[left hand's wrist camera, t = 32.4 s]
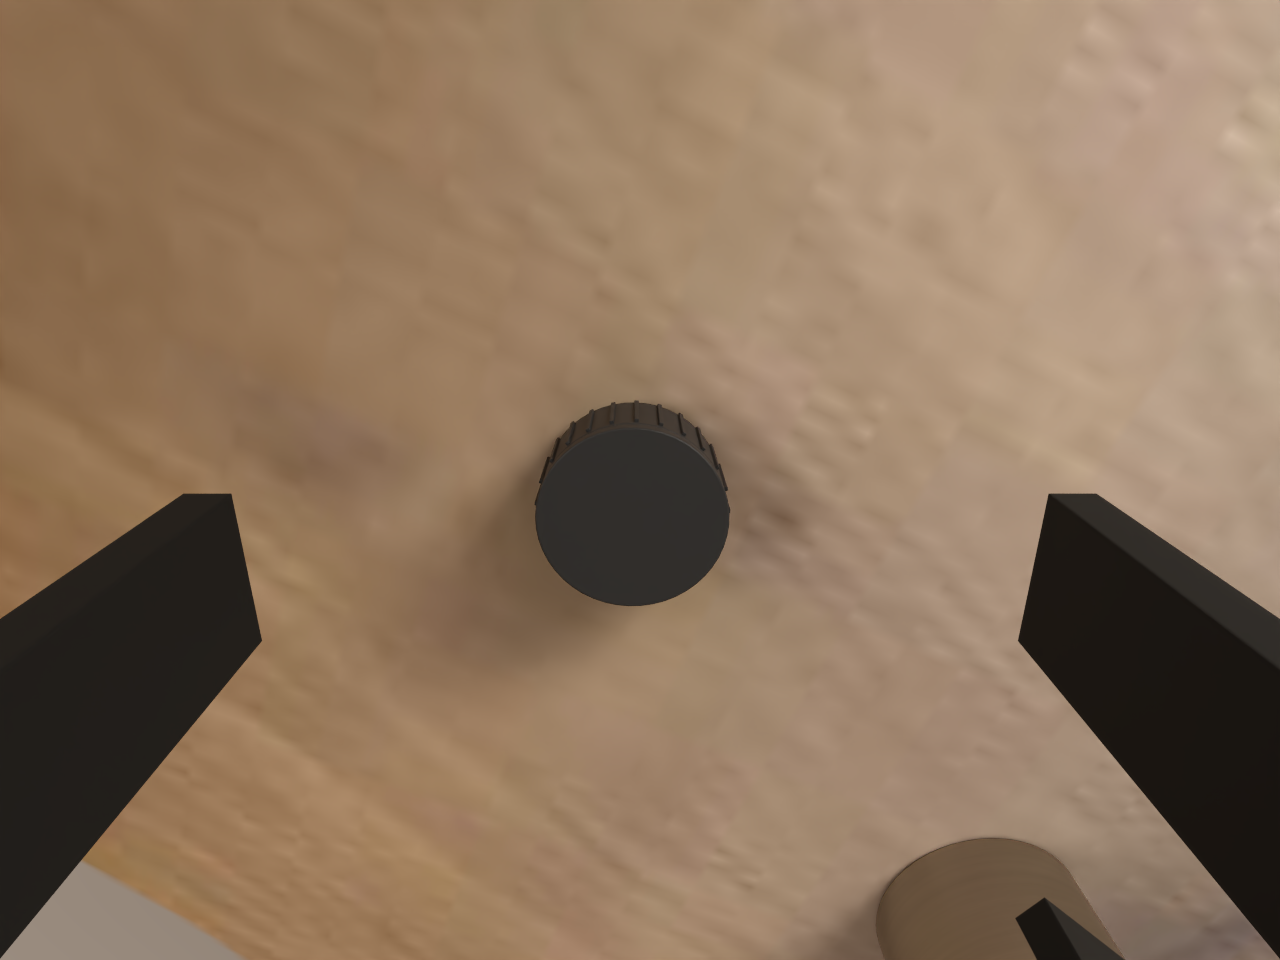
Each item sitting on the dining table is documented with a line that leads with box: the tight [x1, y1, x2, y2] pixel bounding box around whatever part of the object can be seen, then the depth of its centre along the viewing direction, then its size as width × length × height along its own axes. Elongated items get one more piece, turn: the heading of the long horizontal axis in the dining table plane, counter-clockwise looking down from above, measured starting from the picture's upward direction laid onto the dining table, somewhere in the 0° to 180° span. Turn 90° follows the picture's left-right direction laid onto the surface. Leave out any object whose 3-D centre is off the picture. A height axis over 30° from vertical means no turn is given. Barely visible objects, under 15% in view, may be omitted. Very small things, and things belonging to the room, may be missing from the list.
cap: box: [535, 401, 730, 606], centre depth 16 cm, size 4×4×2 cm
